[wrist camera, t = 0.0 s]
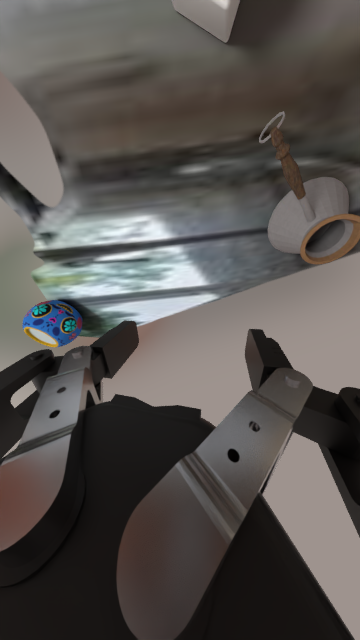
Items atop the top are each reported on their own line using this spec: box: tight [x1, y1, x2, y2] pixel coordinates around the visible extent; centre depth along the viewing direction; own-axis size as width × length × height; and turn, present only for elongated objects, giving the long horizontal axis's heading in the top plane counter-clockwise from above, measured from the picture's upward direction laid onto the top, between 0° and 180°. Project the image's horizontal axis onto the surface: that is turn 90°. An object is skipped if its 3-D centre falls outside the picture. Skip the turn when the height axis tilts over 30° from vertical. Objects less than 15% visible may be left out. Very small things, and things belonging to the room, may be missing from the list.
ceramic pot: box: [23, 300, 82, 347], centre depth 60 cm, size 18×18×15 cm
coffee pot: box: [259, 112, 360, 264], centre depth 23 cm, size 21×12×15 cm, turn 50°
